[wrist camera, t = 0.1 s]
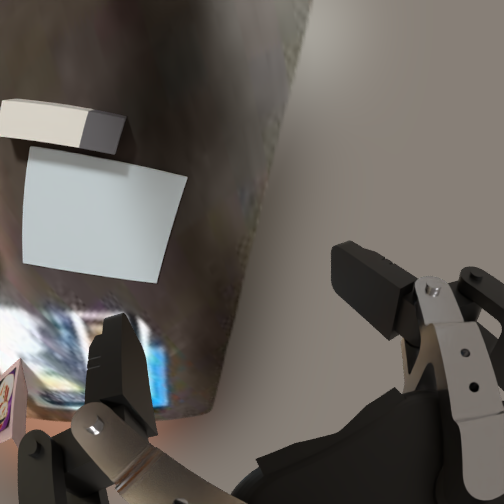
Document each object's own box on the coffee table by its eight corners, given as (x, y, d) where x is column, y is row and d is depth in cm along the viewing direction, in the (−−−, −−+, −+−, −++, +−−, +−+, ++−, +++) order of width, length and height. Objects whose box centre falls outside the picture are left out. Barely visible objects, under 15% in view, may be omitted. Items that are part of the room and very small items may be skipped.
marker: (1, 129, 18) (-12, 135, 15) (8, 98, 16) (-6, 100, 14) (117, 148, 25) (114, 154, 22) (127, 116, 23) (125, 118, 21)
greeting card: (16, 355, 31) (7, 435, 19) (49, 376, 36) (48, 453, 24) (-6, 376, 31) (-14, 445, 19) (23, 394, 35) (21, 461, 24)
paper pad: (31, 145, 20) (30, 146, 20) (187, 176, 29) (187, 177, 29) (23, 261, 26) (23, 262, 25) (156, 281, 35) (156, 283, 34)
